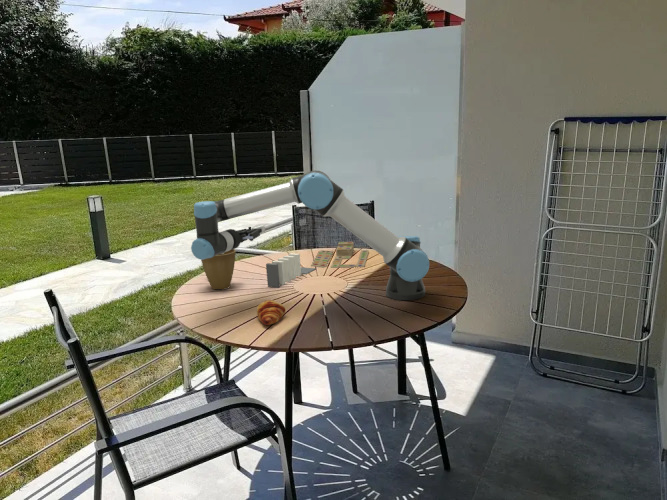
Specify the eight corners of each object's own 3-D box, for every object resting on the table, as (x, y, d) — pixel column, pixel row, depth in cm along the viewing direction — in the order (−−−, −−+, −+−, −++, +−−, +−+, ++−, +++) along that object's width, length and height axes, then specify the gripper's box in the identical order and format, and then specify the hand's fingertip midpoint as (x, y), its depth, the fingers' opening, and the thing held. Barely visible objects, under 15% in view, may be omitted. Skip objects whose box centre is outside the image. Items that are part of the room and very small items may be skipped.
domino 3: (288, 281, 225) (287, 259, 223) (279, 280, 228) (277, 258, 225) (290, 280, 227) (289, 258, 224) (281, 279, 229) (279, 258, 227)
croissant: (266, 316, 194) (255, 299, 193) (289, 303, 193) (278, 286, 192) (261, 337, 173) (248, 318, 172) (286, 322, 173) (274, 303, 171)
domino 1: (277, 287, 218) (275, 264, 215) (267, 286, 220) (265, 264, 218) (279, 286, 219) (277, 264, 217) (269, 285, 221) (268, 263, 219)
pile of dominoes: (319, 252, 279) (318, 242, 278) (369, 251, 276) (368, 241, 275) (308, 269, 246) (307, 258, 245) (364, 268, 242) (364, 257, 241)
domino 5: (299, 276, 233) (297, 254, 231) (289, 275, 235) (288, 254, 233) (301, 275, 235) (299, 254, 232) (291, 274, 237) (290, 253, 234)
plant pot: (225, 294, 213) (221, 256, 209) (196, 291, 219) (192, 254, 215) (245, 283, 226) (242, 248, 222) (218, 281, 232) (214, 246, 228)
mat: (306, 274, 236) (306, 273, 236) (291, 272, 239) (291, 272, 239) (315, 269, 244) (315, 268, 243) (301, 267, 247) (301, 267, 247)
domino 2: (283, 284, 222) (281, 262, 219) (273, 283, 224) (271, 261, 221) (285, 283, 223) (283, 261, 221) (275, 282, 225) (273, 260, 223)
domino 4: (294, 279, 229) (292, 257, 227) (284, 278, 231) (283, 256, 229) (296, 278, 231) (294, 256, 228) (286, 277, 233) (284, 255, 231)
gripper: (213, 249, 193) (250, 236, 213) (241, 251, 187) (277, 238, 208) (211, 230, 191) (249, 218, 212) (239, 231, 185) (275, 220, 206)
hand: (263, 228), depth 210 cm, fingers closed
